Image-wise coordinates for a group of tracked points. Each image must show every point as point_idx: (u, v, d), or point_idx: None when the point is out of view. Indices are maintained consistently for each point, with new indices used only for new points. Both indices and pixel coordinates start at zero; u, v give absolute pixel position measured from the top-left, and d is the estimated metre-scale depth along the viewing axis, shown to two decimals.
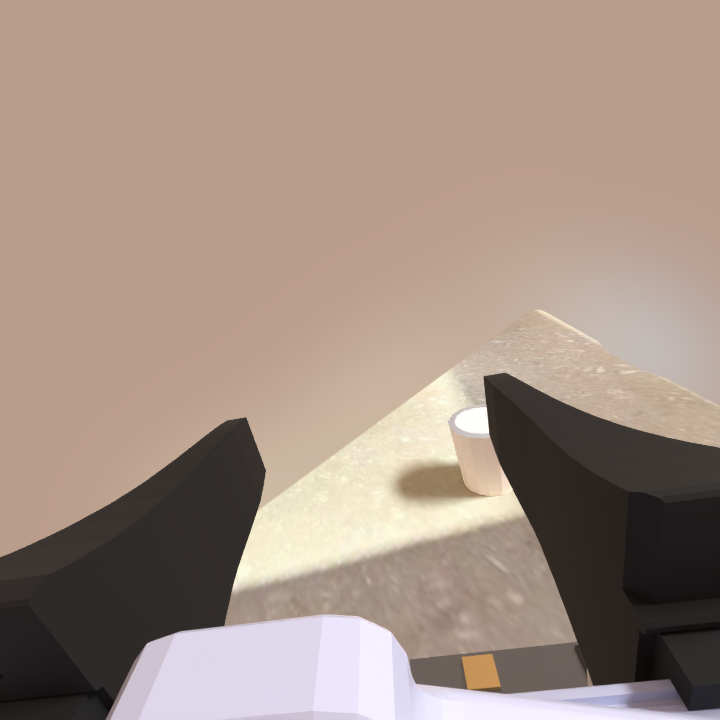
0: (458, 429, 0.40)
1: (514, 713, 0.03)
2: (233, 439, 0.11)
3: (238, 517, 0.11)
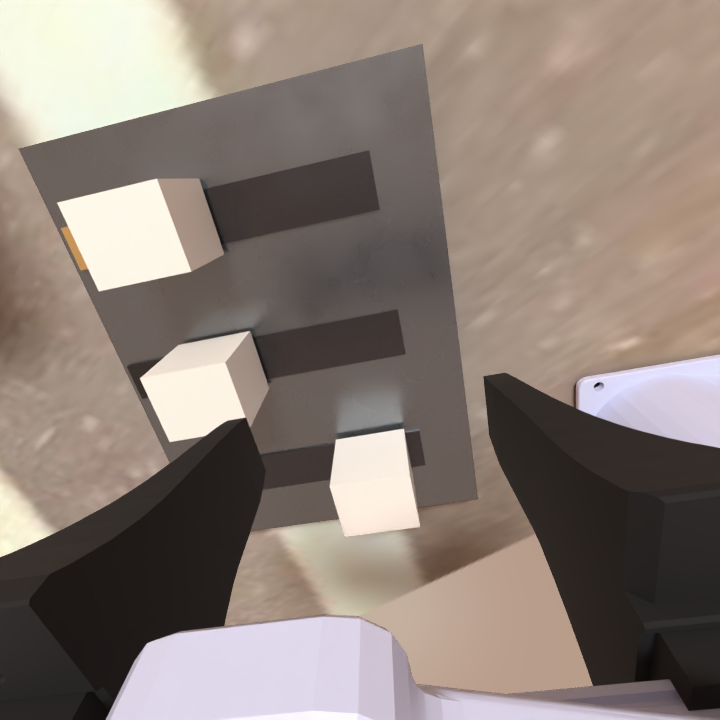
0: None
1: (515, 713, 0.03)
2: (233, 439, 0.11)
3: (238, 517, 0.11)
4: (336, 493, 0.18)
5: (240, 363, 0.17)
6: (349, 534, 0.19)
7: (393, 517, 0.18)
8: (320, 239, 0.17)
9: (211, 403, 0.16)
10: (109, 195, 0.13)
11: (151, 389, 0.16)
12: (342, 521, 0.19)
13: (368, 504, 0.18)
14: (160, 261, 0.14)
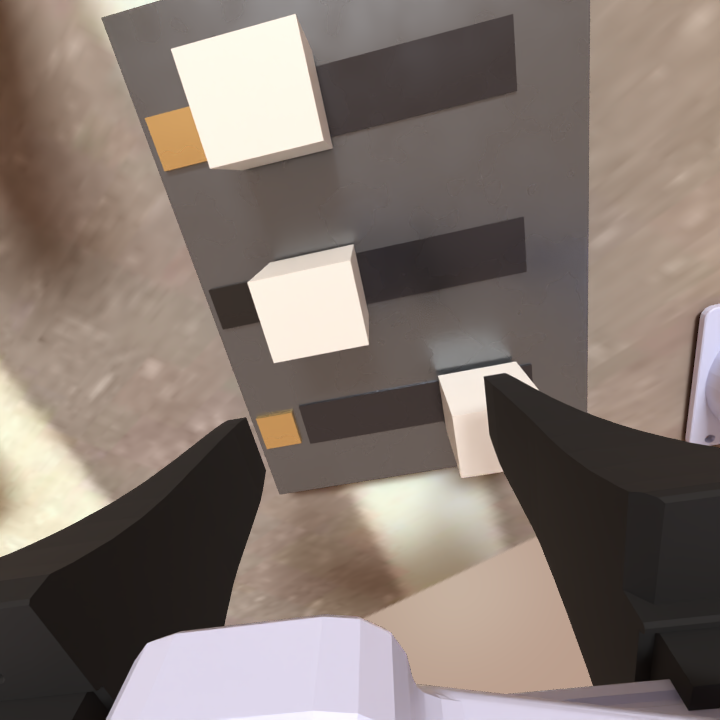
0: None
1: (514, 713, 0.03)
2: (233, 439, 0.11)
3: (238, 517, 0.11)
4: (459, 424, 0.16)
5: (355, 270, 0.15)
6: (467, 475, 0.17)
7: None
8: (443, 130, 0.15)
9: (327, 313, 0.14)
10: (235, 38, 0.11)
11: (259, 296, 0.14)
12: (461, 459, 0.16)
13: None
14: (288, 127, 0.12)
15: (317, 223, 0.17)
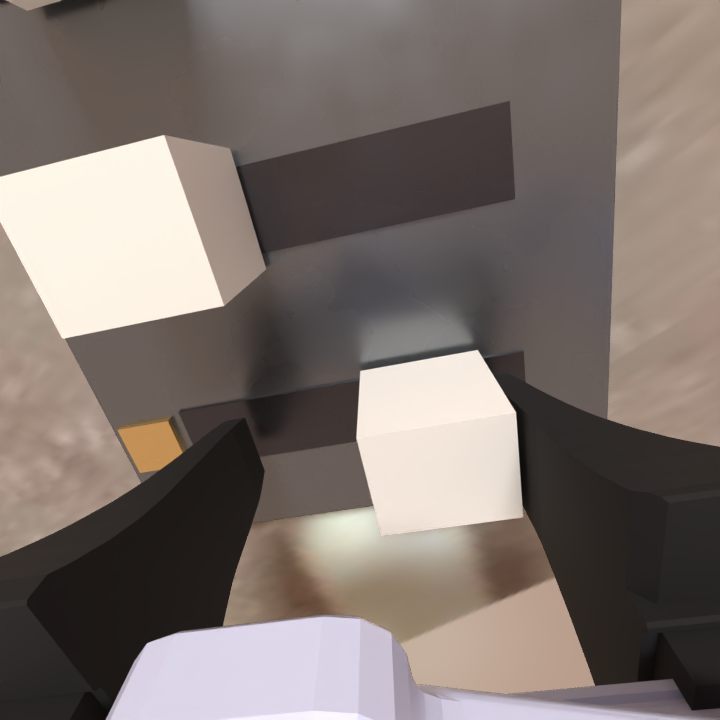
0: None
1: (514, 713, 0.03)
2: (232, 439, 0.11)
3: (237, 517, 0.11)
4: (369, 452, 0.09)
5: (205, 175, 0.08)
6: (390, 531, 0.10)
7: (475, 499, 0.10)
8: None
9: (140, 244, 0.08)
10: None
11: (8, 210, 0.07)
12: (378, 507, 0.10)
13: (429, 474, 0.10)
14: None
15: (171, 114, 0.10)
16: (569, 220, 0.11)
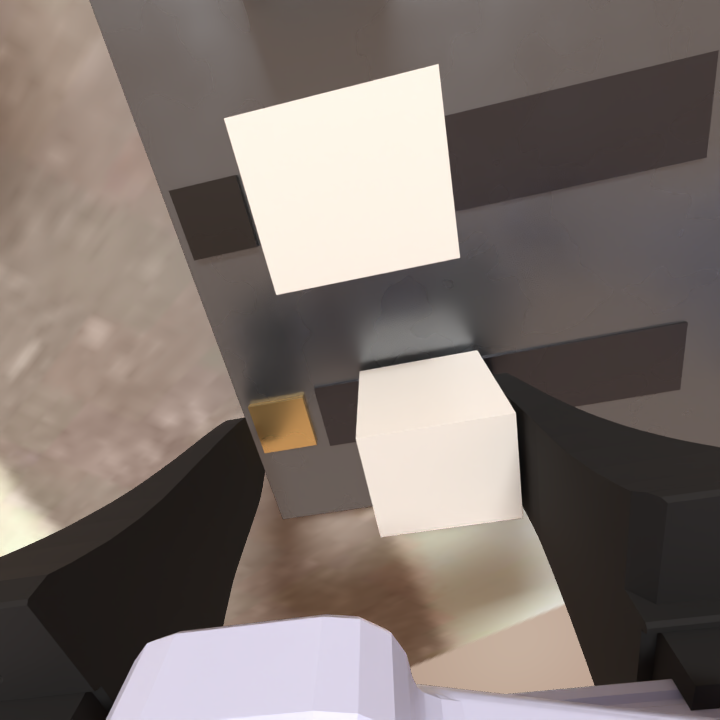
0: None
1: (514, 713, 0.03)
2: (232, 439, 0.11)
3: (237, 517, 0.11)
4: (368, 453, 0.09)
5: None
6: (389, 532, 0.10)
7: (474, 500, 0.10)
8: None
9: (384, 188, 0.07)
10: None
11: (248, 151, 0.07)
12: (377, 508, 0.10)
13: (428, 475, 0.10)
14: None
15: (353, 65, 0.10)
16: None
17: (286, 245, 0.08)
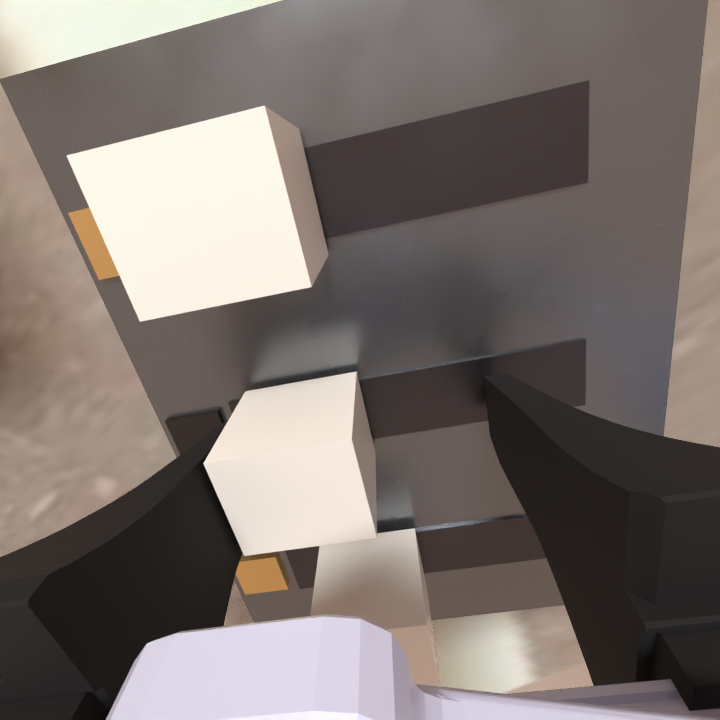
0: None
1: (514, 713, 0.03)
2: None
3: None
4: None
5: (358, 430, 0.11)
6: None
7: None
8: (482, 231, 0.11)
9: (319, 501, 0.10)
10: (168, 140, 0.07)
11: (221, 480, 0.10)
12: None
13: None
14: (256, 268, 0.08)
15: (307, 343, 0.12)
16: (628, 418, 0.13)
17: (250, 529, 0.10)
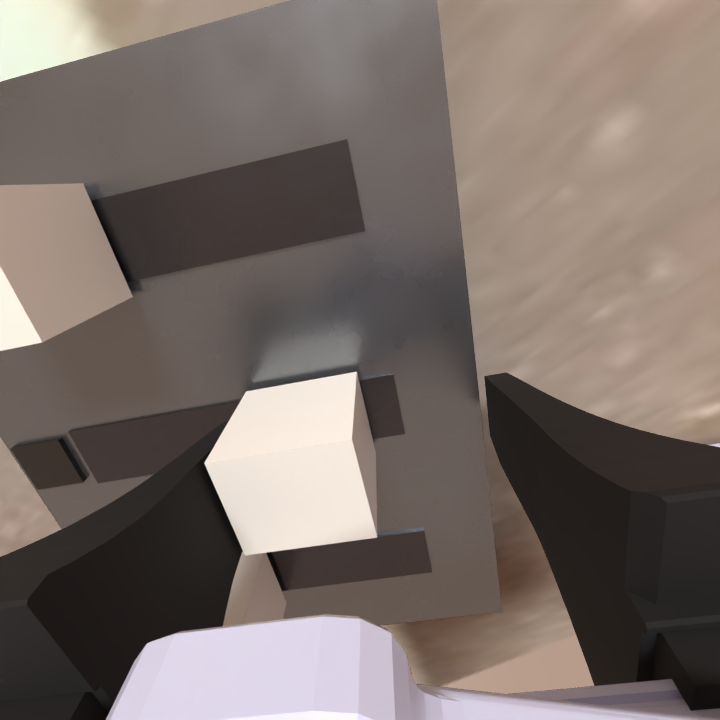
0: None
1: (514, 713, 0.03)
2: None
3: None
4: None
5: (359, 430, 0.11)
6: None
7: None
8: (276, 274, 0.12)
9: (319, 500, 0.10)
10: None
11: (222, 479, 0.10)
12: None
13: None
14: None
15: (133, 376, 0.13)
16: (449, 446, 0.14)
17: (251, 528, 0.10)
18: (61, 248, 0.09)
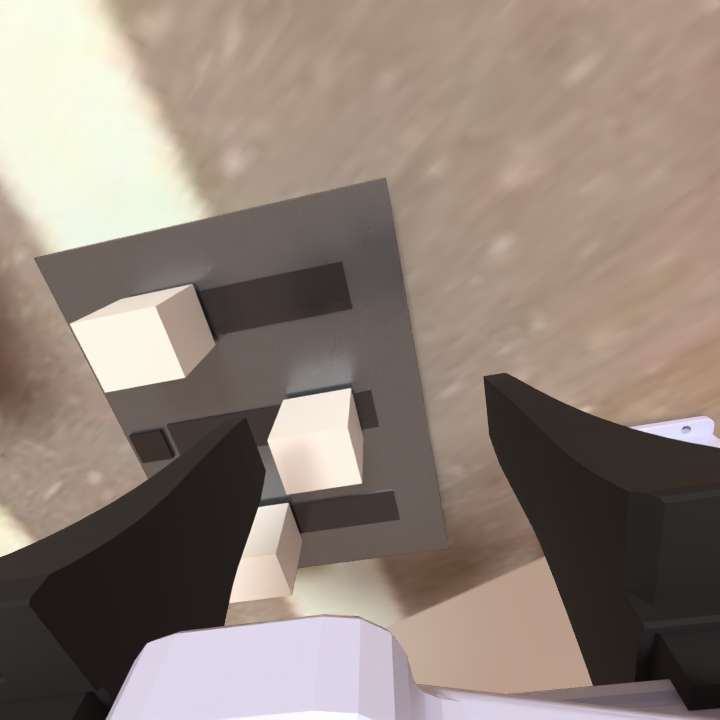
0: None
1: (514, 713, 0.03)
2: (233, 439, 0.11)
3: (238, 516, 0.11)
4: None
5: (352, 423, 0.19)
6: (232, 601, 0.22)
7: (267, 587, 0.21)
8: (300, 332, 0.20)
9: (329, 461, 0.18)
10: (114, 318, 0.16)
11: (276, 449, 0.18)
12: None
13: (244, 577, 0.21)
14: (159, 369, 0.16)
15: (210, 391, 0.21)
16: (407, 434, 0.22)
17: (291, 478, 0.18)
18: (187, 325, 0.17)
